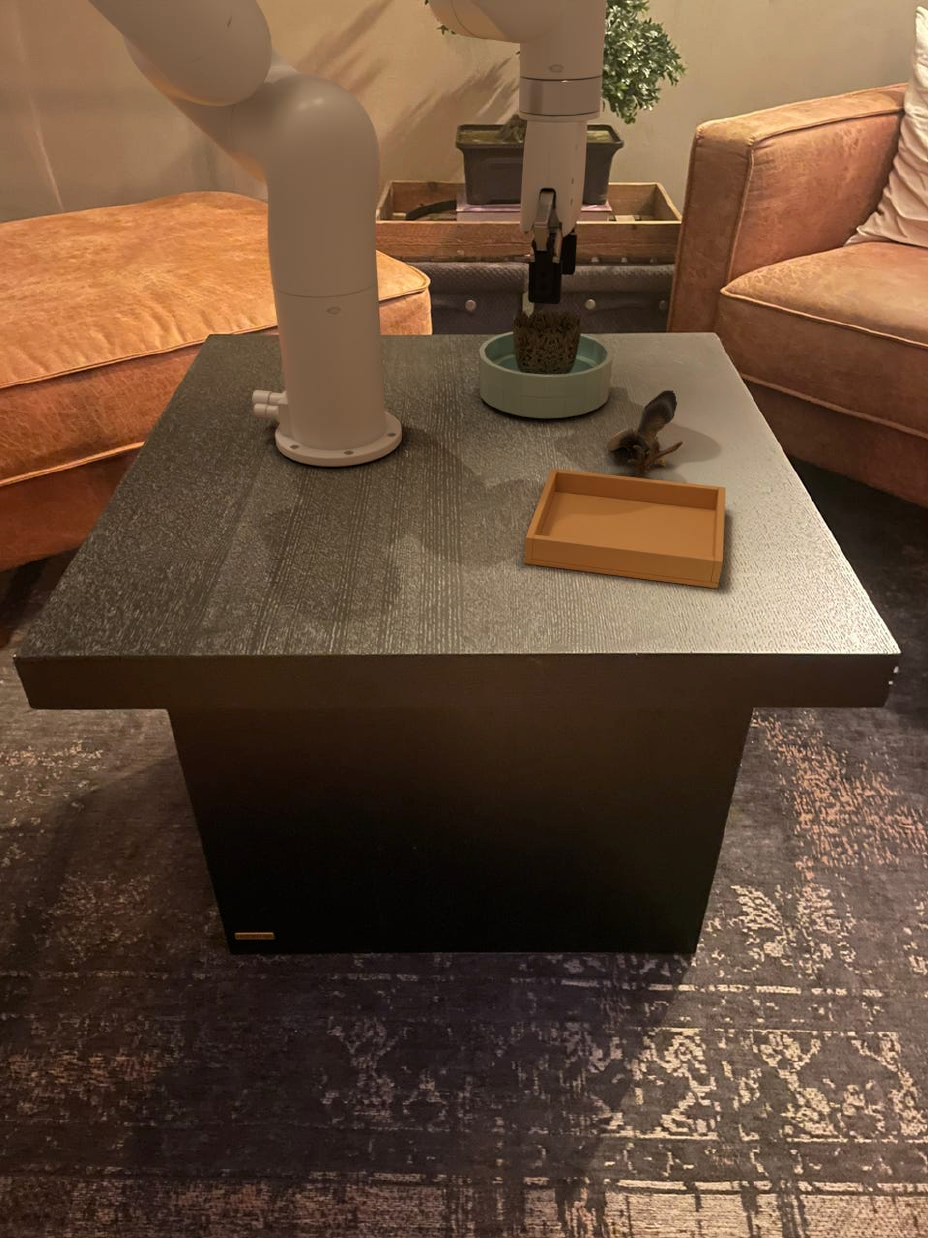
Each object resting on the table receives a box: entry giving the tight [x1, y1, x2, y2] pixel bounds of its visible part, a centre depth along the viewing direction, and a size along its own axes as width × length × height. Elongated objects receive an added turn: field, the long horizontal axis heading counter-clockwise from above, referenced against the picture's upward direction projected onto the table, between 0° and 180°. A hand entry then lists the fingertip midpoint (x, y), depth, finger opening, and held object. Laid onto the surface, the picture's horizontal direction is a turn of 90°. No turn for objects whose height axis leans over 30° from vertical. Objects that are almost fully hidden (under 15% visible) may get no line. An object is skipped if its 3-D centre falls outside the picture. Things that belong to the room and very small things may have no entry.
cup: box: [511, 308, 584, 375], centre depth 99 cm, size 8×7×8 cm
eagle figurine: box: [606, 389, 684, 478], centre depth 86 cm, size 8×7×9 cm
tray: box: [524, 467, 727, 589], centre depth 76 cm, size 15×12×2 cm
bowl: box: [478, 331, 614, 419], centre depth 100 cm, size 14×14×5 cm
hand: (552, 287), depth 95 cm, fingers open, 9 cm apart
